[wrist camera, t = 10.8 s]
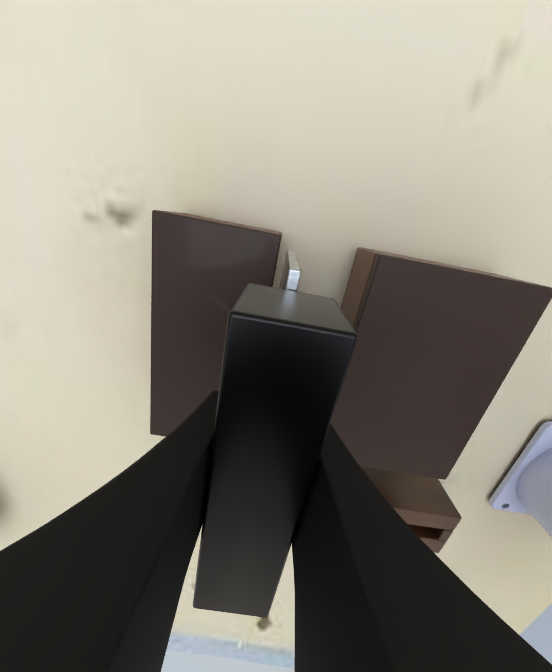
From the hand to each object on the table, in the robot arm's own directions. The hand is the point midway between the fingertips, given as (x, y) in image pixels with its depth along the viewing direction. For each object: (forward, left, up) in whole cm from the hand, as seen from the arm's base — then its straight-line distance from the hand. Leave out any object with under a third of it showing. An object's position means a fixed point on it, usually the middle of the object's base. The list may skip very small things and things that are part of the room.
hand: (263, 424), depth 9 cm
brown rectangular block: (+3, 0, -8) cm, 8 cm away
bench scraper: (0, 0, -5) cm, 5 cm away
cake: (-7, 0, -8) cm, 11 cm away
